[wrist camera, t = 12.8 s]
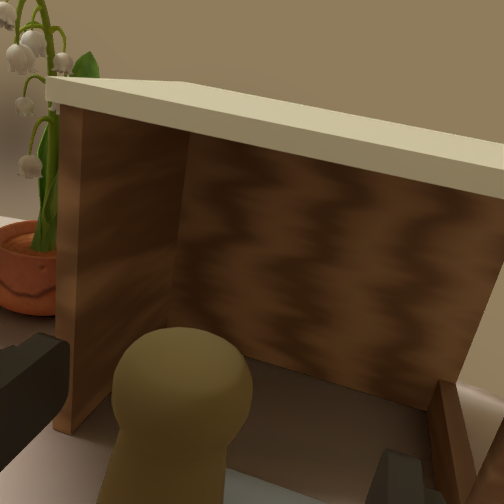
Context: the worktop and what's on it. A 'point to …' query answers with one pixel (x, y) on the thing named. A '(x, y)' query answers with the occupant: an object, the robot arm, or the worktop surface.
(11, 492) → the worktop surface
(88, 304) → the wooden cabinet
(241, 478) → the slate mat
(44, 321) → the worktop surface
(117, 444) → the cork
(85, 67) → the potted flower
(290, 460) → the worktop surface
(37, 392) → the robot arm
